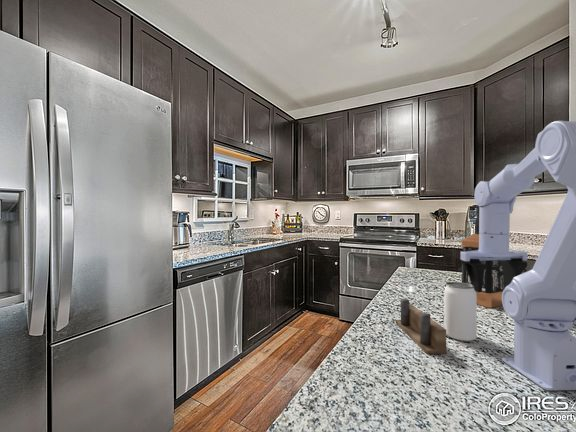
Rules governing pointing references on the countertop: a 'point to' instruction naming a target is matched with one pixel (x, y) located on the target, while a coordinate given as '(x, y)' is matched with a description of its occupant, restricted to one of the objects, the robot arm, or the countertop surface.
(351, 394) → the countertop surface
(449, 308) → the can
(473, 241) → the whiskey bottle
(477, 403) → the countertop surface
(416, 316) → the rail
